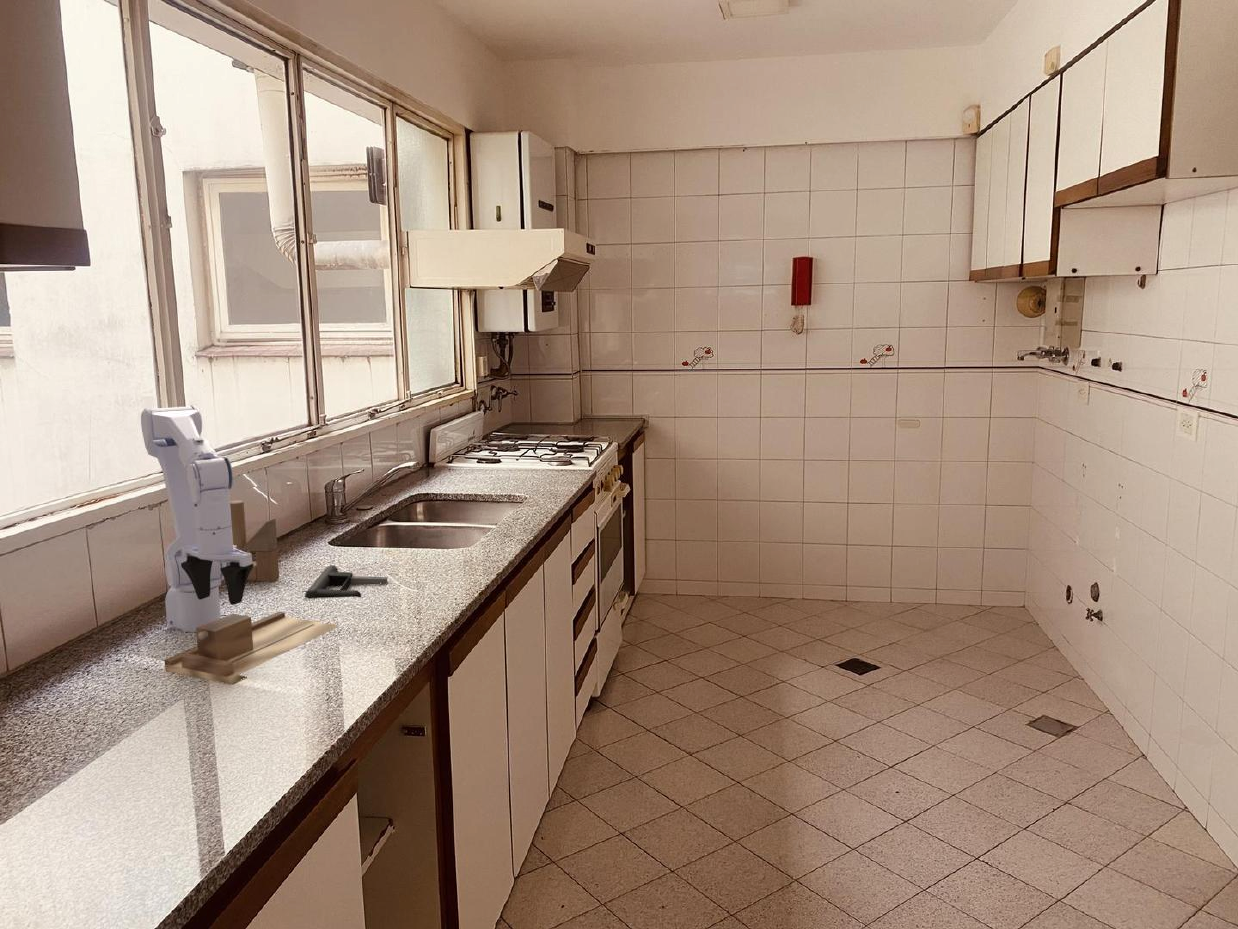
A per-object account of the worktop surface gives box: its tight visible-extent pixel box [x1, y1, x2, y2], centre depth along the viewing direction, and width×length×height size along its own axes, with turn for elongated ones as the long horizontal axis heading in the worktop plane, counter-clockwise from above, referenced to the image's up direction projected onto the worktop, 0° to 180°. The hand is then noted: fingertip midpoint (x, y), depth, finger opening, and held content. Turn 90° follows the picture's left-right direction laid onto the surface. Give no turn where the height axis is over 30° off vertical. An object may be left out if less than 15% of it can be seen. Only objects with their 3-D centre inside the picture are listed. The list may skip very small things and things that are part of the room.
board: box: [164, 611, 340, 685], centre depth 166 cm, size 15×27×3 cm, turn 157°
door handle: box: [302, 564, 388, 599], centre depth 202 cm, size 3×20×16 cm
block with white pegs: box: [195, 613, 253, 661], centre depth 160 cm, size 4×10×6 cm, turn 156°
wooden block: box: [227, 499, 280, 583], centre depth 208 cm, size 4×11×18 cm, turn 79°
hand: (219, 600), depth 163 cm, fingers open, 7 cm apart
